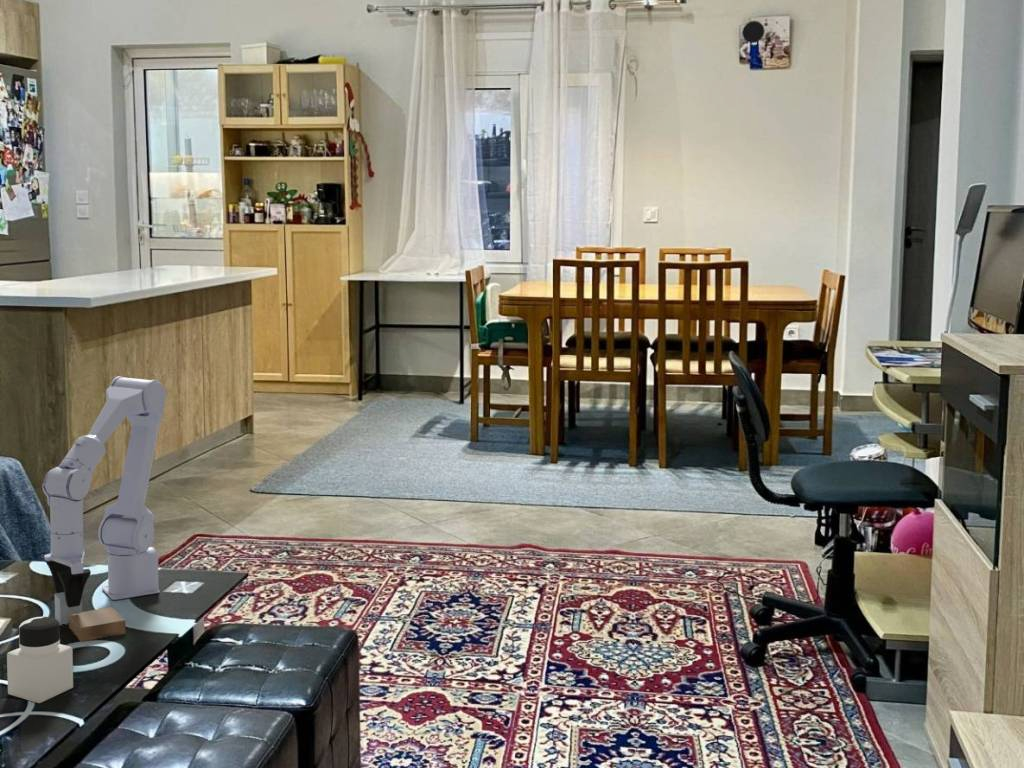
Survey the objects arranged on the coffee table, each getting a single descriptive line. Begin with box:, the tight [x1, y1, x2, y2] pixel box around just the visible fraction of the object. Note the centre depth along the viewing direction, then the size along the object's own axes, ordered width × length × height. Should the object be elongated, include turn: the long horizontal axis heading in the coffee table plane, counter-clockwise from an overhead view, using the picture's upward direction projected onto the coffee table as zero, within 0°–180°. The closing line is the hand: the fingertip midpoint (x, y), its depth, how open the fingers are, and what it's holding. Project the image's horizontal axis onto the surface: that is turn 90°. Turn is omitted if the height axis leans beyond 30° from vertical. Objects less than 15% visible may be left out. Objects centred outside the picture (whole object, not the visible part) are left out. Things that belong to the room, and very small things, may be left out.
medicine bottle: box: [6, 616, 74, 704], centre depth 180 cm, size 7×7×12 cm
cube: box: [54, 592, 83, 626], centre depth 211 cm, size 4×4×5 cm
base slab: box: [68, 606, 126, 642], centre depth 207 cm, size 8×8×3 cm
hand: (68, 600), depth 211 cm, fingers open, 7 cm apart
